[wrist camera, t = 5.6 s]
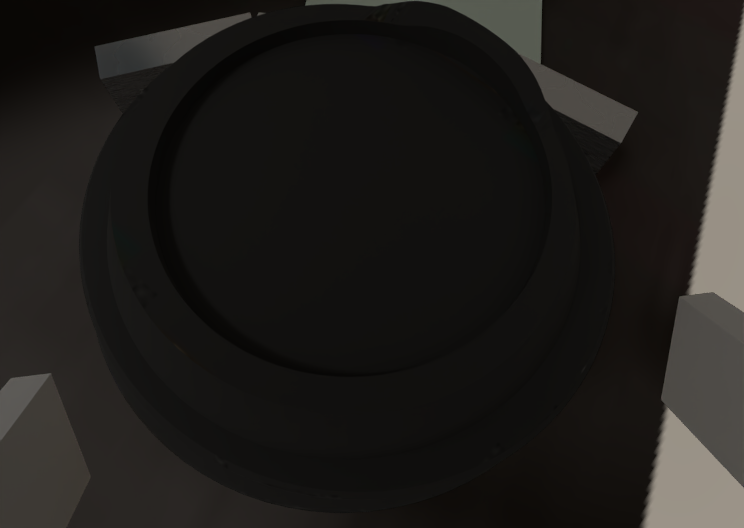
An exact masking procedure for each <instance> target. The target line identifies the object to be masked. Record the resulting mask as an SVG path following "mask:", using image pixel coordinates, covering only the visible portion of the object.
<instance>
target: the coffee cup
mask: <svg viewBox="0 0 744 528" xmlns="http://www.w3.org/2000/svg"><path fill="white" fill-rule="evenodd" d="M79 255H80V269H81V277H82V283H83V289H84V294H85V298H86V302H87V306H88V309H89V313H90V316H91V319H92V322H93V324H94V327H95V330H96V333H97V337H98V340H99V344H100V347H101V350H102V353H103V355H104V358H105V361H106V363H107V365H108V368H109V370H110V372H111V374H112V376H113V378H114V380H115V382H116V384H117V386H118V388H119V389H120V391H121V393H122V394H123V396H124V398H125V399H126V401H127V402H128V404H129V405H130V407H131V408H132V409H133V411H134V412H135V413H136V415H137V416H138V417H139V419H140V420H141V421H142V422H143V423H144V424H145V426H146V427H147V428H148V429H149V430H150V431H151V432H152V433H153V434H154V435H155V436H156V437H157V438H158V439H159V440H160V441H161V442H162V443H163V444H164V445H165V446H166V447H167V448H168V449H169V450H171V451H172V452H173V453H174V454H175V455H177V456H178V457H179V458H180V459H182V460H183V461H184V462H186V463H187V464H189V465H190V466H191V467H193V468H194V469H196V470H197V471H199V472H200V473H202V474H203V475H205V476H207V477H209V478H211V479H212V480H214V481H216V482H218V483H220V484H221V485H224V486H226V487H228V488H230V489H233V490H235V491H237V492H239V493H242V494H244V495H247V496H250V497H253V498H256V499H259V500H261V501H264V502H268V503H272V504H276V505H280V506H284V507H288V508H295V509H301V510H307V511H316V512H330V513H352V512H369V511H377V510H383V509H390V508H396V507H400V506H404V505H409V504H413V503H417V502H420V501H423V500H426V499H429V498H433V497H435V496H438V495H440V494H443V493H446V492H448V491H450V490H453V489H455V488H457V487H459V486H461V485H463V484H465V483H467V482H469V481H471V480H473V479H474V478H476V477H478V476H480V475H481V474H483V473H485V472H486V471H488V470H490V469H491V468H492V467H494V466H495V465H497V464H498V463H499V462H501V461H502V460H504V459H505V458H507V457H509V456H510V455H512V454H513V453H515V452H516V451H518V450H519V449H520V448H522V447H523V446H524V445H526V444H527V443H528V442H529V441H531V440H532V439H533V438H534V437H535V436H537V435H538V434H539V433H540V432H541V431H542V430H543V429H544V428H545V427H546V426H547V425H548V424H549V423H550V422H551V421H552V420H553V419H554V418H555V417H556V416H557V415H558V414H559V413H560V412H561V410H562V409H563V408H564V407H565V406H566V404H567V403H568V402H569V400H570V399H571V398H572V396H573V395H574V394H575V392H576V391H577V389H578V388H579V386H580V385H581V383H582V381H583V380H584V378H585V376H586V375H587V373H588V371H589V369H590V367H591V365H592V363H593V361H594V359H595V357H596V355H597V352H598V350H599V347H600V345H601V342H602V339H603V336H604V333H605V330H606V327H607V323H608V319H609V315H610V311H611V305H612V299H613V292H614V280H615V253H614V242H613V234H612V228H611V223H610V218H609V214H608V210H607V206H606V202H605V199H604V196H603V193H602V190H601V187H600V185H599V182H598V180H597V177H596V175H595V173H594V171H593V168H592V166H591V164H590V162H589V160H588V159H587V157H586V155H585V153H584V151H583V150H582V148H581V146H580V144H579V143H578V141H577V140H576V138H575V137H574V135H573V134H572V132H571V131H570V129H569V128H568V127H567V125H566V124H565V123H564V121H563V120H562V119H561V118H560V116H559V115H558V114H557V113H556V112H555V110H554V109H553V108H552V107H551V106H550V105H549V104H548V103H547V102H546V101H545V98H544V96H543V93H542V91H541V88H540V86H539V84H538V81H537V80H536V78H535V76H534V74H533V73H532V71H531V70H530V68H529V67H528V65H527V64H526V63H525V61H524V60H523V59H522V57H521V56H520V55H519V54H518V53H517V52H516V51H515V50H514V49H513V48H512V47H511V46H510V45H508V44H507V43H506V42H505V41H503V40H502V39H501V38H500V37H498V36H497V35H496V34H494V33H493V32H491V31H490V30H489V29H487V28H485V27H484V26H482V25H481V24H479V23H478V22H476V21H474V20H473V19H471V18H469V17H467V16H465V15H464V14H462V13H460V12H458V11H456V10H454V9H451V8H449V7H447V6H443V5H440V4H435V3H430V2H424V1H406V2H398V3H392V4H383V5H379V6H363V5H351V4H318V5H306V6H298V7H292V8H286V9H281V10H277V11H273V12H268V13H265V14H262V15H258V16H255V17H252V18H249V19H246V20H244V21H241V22H239V23H236V24H234V25H232V26H230V27H228V28H225V29H223V30H221V31H219V32H218V33H216V34H214V35H212V36H210V37H209V38H207V39H205V40H204V41H202V42H201V43H199V44H198V45H196V46H195V47H193V48H192V49H191V50H189V51H188V52H187V53H185V54H184V55H183V56H181V57H180V58H179V59H178V60H177V61H176V62H174V63H173V64H172V65H170V66H169V67H168V68H166V69H165V70H164V71H163V72H162V73H160V74H159V75H158V76H157V77H156V78H155V79H154V80H152V81H151V82H150V83H149V84H148V85H147V86H146V87H145V88H144V89H143V91H142V92H141V93H140V94H139V95H138V96H137V97H136V98H135V99H134V101H133V102H132V103H131V104H130V105H129V107H128V108H127V109H126V111H125V112H124V113H123V115H122V116H121V118H120V119H119V120H118V122H117V123H116V125H115V127H114V128H113V130H112V131H111V133H110V135H109V136H108V138H107V140H106V142H105V144H104V146H103V148H102V150H101V152H100V154H99V156H98V158H97V161H96V163H95V166H94V168H93V171H92V174H91V176H90V180H89V183H88V186H87V190H86V194H85V198H84V203H83V208H82V214H81V222H80V236H79Z"/></svg>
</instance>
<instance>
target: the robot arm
mask: <svg viewBox="0 0 744 528" xmlns="http://www.w3.org/2000/svg"><path fill="white" fill-rule="evenodd" d="M661 400H662V401H663V402H664V403H665V405H666V406H667V407H668V408H669V409H670V410H671V411H672V412H673V413H674V414H675V415H676V416H677V417H678V418H679V419H680V420H681V422H683V424H684V425H685V426H686V427H687V428H688V429H689V430H690V431H691V432H692V433H693V434H694V435H695V436H696V437H697V438H698V440H700V442H701V443H702V444H703V445H704V446H705V447H706V448H707V449H708V450H709V451H710V452H711V453H712V454H713V455H714V457H715V458H716V459H717V460H718V461H719V462H720V463H721V464H722V465H723V466H724V467H725V468H726V469H727V470H728V471H729V472H730V473H731V474H732V476H733V477H734V478H735V479H736V480H737V481H738V482H739V483H740V484H741V485H742V486H743V487H744V313H743V312H742V311H740V310H739V309H738V308H736V307H735V306H733V305H731V304H730V303H728V302H727V301H725V300H724V299H722V298H721V297H719V296H718V295H716V294H715V293H703V294H695V295H687V296H679V301H678V307H677V312H676V318H675V323H674V329H673V335H672V340H671V346H670V351H669V357H668V363H667V368H666V374H665V380H664V385H663V391H662V396H661ZM90 478H91V476H90V473H89V471H88V468H87V466H86V463H85V460H84V458H83V455H82V453H81V450H80V447H79V445H78V442H77V440H76V437H75V434H74V432H73V429H72V427H71V424H70V422H69V419H68V416H67V414H66V411H65V409H64V406H63V403H62V401H61V398H60V396H59V393H58V391H57V388H56V385H55V383H54V380H53V378H52V375H51V373H49V374H41V375H33V376H25V377H17V378H11V379H10V380H9V381H8V382H7V384H6V385H5V386H4V387H3V388H2V389H1V391H0V528H66V527H67V525H68V523H69V521H70V519H71V517H72V515H73V513H74V511H75V509H76V507H77V504H78V502H79V500H80V498H81V496H82V494H83V492H84V490H85V488H86V486H87V484H88V482H89V480H90Z"/></svg>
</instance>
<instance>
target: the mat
mask: <svg viewBox="0 0 744 528" xmlns="http://www.w3.org/2000/svg"><path fill="white" fill-rule="evenodd" d="M406 1H424V2H430V3H435V4H440V5H443V6H447V7H449V8H451V9H454V10H456V11H458V12H460V13H462V14H464V15H465V16H467V17H469V18H471V19H473V20H474V21H476V22H478V23H479V24H481V25H482V26H484V27H485V28H487V29H489V30H490V31H491V32H493V33H494V34H496V35H497V36H498V37H500V38H501V39H502V40H503V41H505V42H506V43H507V44H508V45H510V46H511V47H512V48H513V49H514V50H515V51H516V52H517V53H519V54H521V55H523V56H525V57H527V58H529V59H531V60H533V61H535V62H537V63H539V64H541V27H542V0H306V4H305V6H306V5H318V4H351V5H363V6H379V5H383V4H392V3H398V2H406Z"/></svg>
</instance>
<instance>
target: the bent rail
mask: <svg viewBox="0 0 744 528" xmlns="http://www.w3.org/2000/svg"><path fill="white" fill-rule="evenodd" d="M262 14H265V13H260V12H258V15H262ZM258 15H257V16H258ZM249 18H252V17H251V14H250V13H245V14H241V15H236V16H231V17H227V18H222V19H218V20H213V21H209V22H204V23H199V24H195V25H190V26H186V27H181V28H177V29H172V30H167V31H163V32H158V33H154V34H149V35H145V36H140V37H135V38H131V39H126V40H122V41H117V42H113V43H108V44H103V45H99V46H94V47H95V53H96V58H97V64H98V70H99V76H100V80H101V81H102V83H103V85H104V86H105V88H106V89H107V91H108V92H109V94H110V95H111V97H112V98H113V100H114V101H115V103H116V104H117V106H118V107H119V109H120V110H121V112H122V113H124V112H125V111H126V109H127V108H128V107H129V105H130V104H131V103H132V102H133V101H134V99H135V98H136V97H137V96H138V95H139V94H140V93H141V92H142V91H143V89H144V88H145V87H146V86H147V85H148V84H149V83H150V82H151V81H152V80H154V79H155V78H156V77H157V76H158V75H159V74H160V73H162V72H163V71H164V70H165V69H166V68H168V67H169V66H170V65H172V64H173V63H174V62H176V61H177V60H178V59H179V58H180V57H181V56H183V55H184V54H185V53H187V52H188V51H189V50H191V49H192V48H193V47H195V46H196V45H198V44H199V43H201V42H202V41H204V40H205V39H207V38H209V37H210V36H212V35H214V34H216V33H218V32H219V31H221V30H223V29H225V28H228V27H230V26H232V25H234V24H236V23H239V22H241V21H244V20H246V19H249ZM518 54H519V53H518ZM519 55H520V56H521V57H522V59H523V60H524V61H525V63H526V64H527V65H528V67H529V68H530V70H531V71H532V73H533V74H534V76H535V78H536V80H537V81H538V84H539V86H540V88H541V91H542V93H543V96H544V98H545V101H546V102H547V103H548V104H549V105H550V106H551V107H552V108H553V109H554V110H555V112H556V113H557V114H558V115H559V116H560V118H561V119H562V120H563V121H564V123H565V124H566V125H567V127H568V128H569V129H570V131H571V132H572V134H573V135H574V137H575V138H576V140H577V141H578V143H579V144H580V146H581V148H582V150H583V151H584V153H585V155H586V157H587V159H588V160H589V162H590V164H591V166H592V168H593V171H594V173H595V175H596V174H597V173H598V171H599V170H600V169H601V168H602V166H603V165H604V164H605V163H606V161H607V160H608V159H609V158H610V156H611V155H612V154H613V153H614V151H615V150H616V149H617V148H618V146H619V145H620V144H621V142H622V141H623V139H624V137H625V135H626V133H627V131H628V130H629V128H630V126H631V124H632V122H633V121H634V119H635V117H636V115H637V113H638V112H637V111H635V110H633V109H631V108H629V107H627V106H625V105H622V104H620V103H618V102H616V101H614V100H612V99H610V98H608V97H606V96H604V95H602V94H600V93H598V92H596V91H594V90H592V89H590V88H588V87H586V86H584V85H582V84H580V83H578V82H576V81H574V80H572V79H570V78H568V77H566V76H564V75H562V74H560V73H558V72H556V71H554V70H552V69H549V68H547V67H545V66H543V65H541V64H539V63H537V62H535V61H533V60H531V59H529V58H527V57H525V56H523V55H521V54H519Z"/></svg>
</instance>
